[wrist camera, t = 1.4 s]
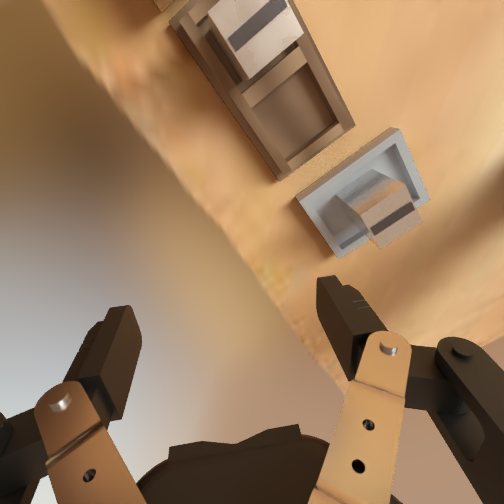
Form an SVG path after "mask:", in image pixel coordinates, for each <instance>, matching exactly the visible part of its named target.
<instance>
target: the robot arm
mask: <svg viewBox="0 0 504 504" xmlns="http://www.w3.org/2000/svg"><path fill="white" fill-rule="evenodd" d="M316 309H317V314H318V318H319V320H320V322H321V324H322V327H323V329H324V331H325V333H326V335H327V337H328V339H329V341H330V343H331V345H332V348H333V350H334V352H335V354H336V356H337V358H338V360H339V362H340V364H341V366H342V368H343V371H344V373H345V375H346V377H347V379H348V381H351V383H350V386H349V389H348V392H347V395H346V398H345V401H344V404H343V407H342V410H341V413H340V416H339V419H338V422H337V425H336V428H335V431H334V434H333V437H332V440H331V443H328V442H326V441H324V440H322V439H319V438H316V437H313V436H309V435H303V434H301V432H300V429H299V425H298V424H295V425H290V426H285V427H278V428H273V429H267V430H265V431H263V432H261V433H259V434H256V435H255V436H252V437H250V438H248V439H246V440H244V441H242V442H239V443H237V444H227V443H216V442H206V441H200V442H194V443H188V444H183V445H177V446H172V447H169V457H168V459H167V460H164V461H163V462H161V463H159V464H158V465H156V466H155V467H153V468H152V469H151V470H150V471H148V472H147V473H146V474H145V475H144V476H143V477H142V478H141V479H140V480H139V481H138V482H137V483H135V481H134V479H133V477H132V476H131V474H130V472H129V470H128V468H127V466H126V465H125V463H124V461H123V459H122V457H121V456H120V454H119V452H118V450H117V448H116V446H115V445H114V443H113V441H112V439H111V437H110V436H109V434H108V432H107V429H108V426H109V423H110V421H114V420H120V419H122V416H123V413H124V409H125V405H126V402H127V398H128V394H129V391H130V387H131V383H132V379H133V375H134V372H135V368H136V365H137V361H138V357H139V354H140V350H141V346H142V336H141V332H140V329H139V326H138V323H137V320H136V318H135V315H134V312H133V309H132V307H131V306H130V305H126V306H119V307H112V308H110V309H109V310H108V313H107V315H106V317H105V319H104V321H100V322H97V323H96V324H95V325H94V326H93V327H92V328H91V329H90V330H89V331H88V333H87V335H86V337H85V339H84V341H83V344H82V345H81V347H80V349H79V352H78V353H77V355H76V357H75V359H74V361H73V362H72V364H71V366H70V368H69V371H68V372H67V374H66V376H65V378H64V380H63V382H62V383H60V384H58V385H56V386H54V387H53V388H51V389H50V390H48V391H47V392H46V393H45V394H44V395H43V396H42V397H41V398H40V399H39V400H38V402H37V404H36V406H35V407H34V408H32V409H30V410H28V411H25V412H23V413H20V414H18V415H16V416H13V417H11V418H8V419H6V418H5V417H4V415H3V414H2V413H1V412H0V504H31V501H32V499H33V496H34V494H35V491H36V489H37V486H38V483H39V481H40V479H41V478H43V477H45V476H47V475H49V478H50V481H51V484H52V488H53V491H54V494H55V497H56V500H57V503H58V504H403V503H401V502H400V501H399V500H398V499H397V498H396V497H394V496H393V495H392V494H391V490H392V483H393V477H394V470H395V463H396V457H397V451H398V444H399V438H400V431H401V424H402V418H403V411H404V407H405V408H412V409H419V410H426V411H427V412H428V414H429V415H430V417H431V419H432V420H433V422H434V423H435V425H436V427H437V428H438V430H439V432H440V433H441V435H442V437H443V438H444V440H445V441H446V443H447V445H448V447H449V448H450V450H451V452H452V453H453V455H454V456H455V458H456V460H457V461H458V463H459V465H460V466H461V468H462V470H463V471H464V473H465V474H466V476H467V478H468V479H469V481H470V483H471V484H472V486H473V488H474V489H475V491H476V492H477V494H478V496H479V498H480V499H481V501H482V502H483V504H504V371H503V370H502V369H501V368H500V367H499V366H498V365H497V364H496V363H495V362H494V361H493V360H492V358H491V357H490V356H489V355H488V354H487V353H486V352H485V351H484V350H483V349H482V348H481V347H479V346H478V345H476V344H475V343H473V342H471V341H469V340H466V339H463V338H458V337H446V338H443V339H441V340H440V341H439V343H438V345H437V348H435V347H424V346H415V345H410V344H409V343H408V341H407V340H406V339H405V338H403V337H402V336H400V335H398V334H396V333H393V332H389V331H388V330H387V328H386V327H385V326H384V324H383V323H382V322H381V320H380V319H379V318H378V316H377V315H376V314H375V312H374V311H373V310H372V308H371V307H370V306H369V304H368V303H367V302H366V301H365V299H364V298H363V296H362V295H361V293H360V292H359V291H358V290H356V289H355V288H353V287H352V286H350V285H344V286H342V284H341V283H340V281H339V280H338V278H337V277H336V276H335V275H333V276H326V277H319V278H317V290H316Z"/></svg>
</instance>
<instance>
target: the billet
mask: <svg viewBox="0 0 504 504" xmlns="http://www.w3.org/2000/svg"><path fill="white" fill-rule="evenodd" d="M335 195H336V197H337V198H338V200H339V201H340V203H341V205H342V206H343V208H344V210H345V211H346V213H347V215H348V216H349V218H350V220H351V221H352V223H353V224H354V225H355V226H356V227H357V228H358V229H359V230H360V231H361V232H362V233H363V234H364V235H365V236H366V237H367V238H368V239H370V240H371V241H372V242H373V243H374V244H375V245H376V246H377V247H378V248H379V249H382V248H383V247H385V246H386V245H388V244H389V243H391V242H392V241H394V240H396V239H397V238H399V237H400V236H402V235H403V234H405V233H407V232H408V231H410V230H411V229H413V228H414V227H416V226H418V225H419V224H421V223H422V220H421V217H420V215H419V213H418V211H417V209H416V207H415V205H414V202H413V200H412V198H411V196H410V194H409V192H408V189H407V187H406V185H405V184H403V183H401V182H399V181H397V180H394V179H392V178H390V177H388V176H386V175H384V174H382V173H380V172H378V171H376V170H374V169H370V170H369V171H367V172H366V173H365V174H363V175H362V176H360V177H359V178H357V179H356V180H355V181H353V182H352V183H350V184H349V185H347V186H346V187H345V188H343V189H342V190H340V191H339V192H338V193H336V194H335Z"/></svg>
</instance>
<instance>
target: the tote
mask: <svg viewBox="0 0 504 504" xmlns="http://www.w3.org/2000/svg"><path fill="white" fill-rule="evenodd" d="M370 169H374V170H376V171H378V172H380V173H382V174H384V175H386V176H388V177H390V178H392V179H394V180H397V181H399V182H401V183H403V184H405V185H406V187H407V189H408V192H409V194H410V196H411V198H412V200H413V202H414V205H415V207H416V209H417V208H419V207H420V206H422V205H423V204H425V203H426V202H428V201H429V200H430V198H429V195H428V193H427V191H426V188H425V186H424V184H423V181H422V179H421V177H420V174H419V172H418V170H417V167H416V165H415V163H414V160H413V158H412V156H411V153H410V151H409V149H408V146H407V144H406V142H405V139H404V137H403V135H402V132H401V130H400V129H397V128H392V127H390V128H389V129H387V130H386V131H385V132H383V133H382V134H380V135H379V136H378V137H376V138H375V139H374V140H372V141H371V142H369V143H368V144H367V145H365V146H364V147H362V148H361V149H360V150H358V151H357V152H356V153H354V154H353V155H351V156H350V157H349V158H347V159H346V160H345V161H343V162H342V163H340V164H339V165H338V166H336V167H335V168H333V169H332V170H331V171H329V172H328V173H327V174H325V175H324V176H322V177H321V178H320V179H318V180H317V181H316V182H314V183H313V184H311V185H310V186H309V187H307V188H306V189H304V190H303V191H302V192H300V193H299V194H298V195H296V196H295V197H296V198H297V200H298V201H299V203H300V204H301V206H302V207H303V209H304V210H305V212H306V213H307V214H308V216H309V217H310V219H311V220H312V222H313V223H314V225H315V226H316V228H317V229H318V230H319V232H320V233H321V235H322V236H323V238H324V239H325V241H326V242H327V244H328V245H329V246H330V248H331V249H332V251H333V252H334V254H335V255H336V256H337V258H338V259H340V258H342V257H343V256H345V255H346V254H348V253H349V252H351V251H352V250H354V249H356V248H357V247H359V246H360V245H362V244H363V243H365V242H366V241H368V240H369V239H368V238H367V237H366V236H365V235H364V234H363V233H362V232H361V231H360V230H359V229H358V228H357V227H356V226H355V225H354V224H353V223H352V221H351V220H350V218H349V216H348V215H347V213H346V211H345V210H344V208H343V206H342V205H341V203H340V201H339V200H338V198H337V197H336V195H335V194H336V193H338V192H339V191H340V190H342V189H343V188H345V187H346V186H347V185H349V184H350V183H352V182H353V181H355V180H356V179H357V178H359V177H360V176H362V175H363V174H365V173H366V172H367V171H369V170H370Z"/></svg>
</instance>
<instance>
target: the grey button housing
mask: <svg viewBox="0 0 504 504" xmlns="http://www.w3.org/2000/svg"><path fill="white" fill-rule="evenodd" d="M153 1H154V2H155V4H156V5H157V6H158V8H159V9H160V11H161V12H163V11H164V10H165V9H166V8H167V7H168V6H169V5H170V4H171V3H173V2H174V1H175V0H153Z"/></svg>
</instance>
